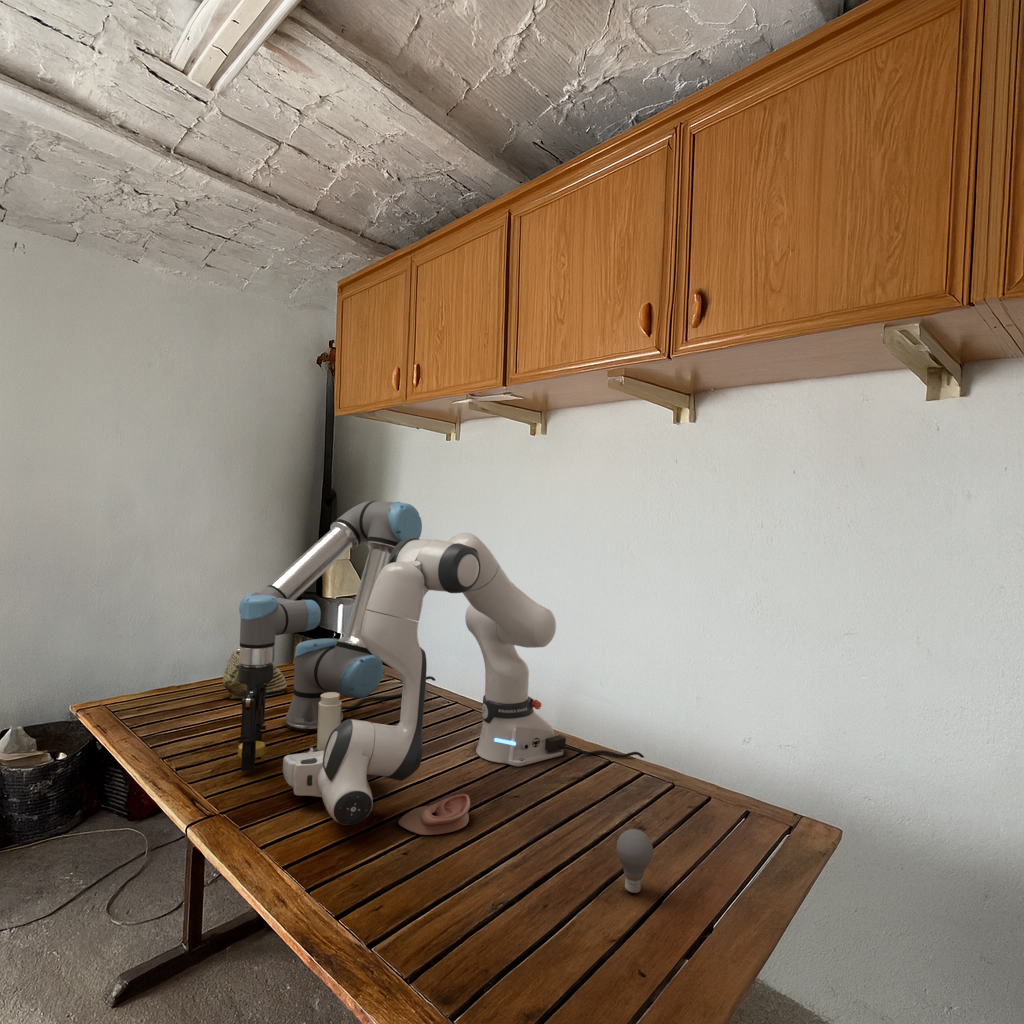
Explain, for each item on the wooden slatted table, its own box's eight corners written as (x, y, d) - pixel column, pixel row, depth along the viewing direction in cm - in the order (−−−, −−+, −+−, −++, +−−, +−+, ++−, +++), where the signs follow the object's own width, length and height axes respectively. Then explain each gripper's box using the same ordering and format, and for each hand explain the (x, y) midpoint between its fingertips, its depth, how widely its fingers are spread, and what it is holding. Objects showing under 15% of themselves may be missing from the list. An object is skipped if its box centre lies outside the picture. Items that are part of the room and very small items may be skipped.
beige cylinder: (337, 772, 146) (340, 690, 146) (339, 781, 141) (343, 697, 141) (314, 774, 144) (318, 692, 144) (316, 783, 140) (319, 698, 139)
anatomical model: (392, 810, 121) (414, 784, 132) (391, 830, 121) (413, 803, 132) (459, 820, 118) (475, 792, 130) (458, 841, 118) (474, 812, 130)
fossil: (218, 695, 195) (220, 647, 195) (278, 685, 208) (279, 640, 207) (228, 703, 189) (230, 653, 188) (289, 692, 201) (290, 645, 201)
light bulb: (610, 879, 108) (613, 822, 108) (644, 879, 109) (647, 822, 109) (619, 902, 102) (622, 840, 102) (655, 901, 103) (658, 840, 103)
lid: (232, 755, 144) (232, 746, 144) (252, 747, 149) (253, 738, 149) (250, 760, 141) (250, 751, 141) (270, 752, 147) (270, 743, 147)
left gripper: (249, 654, 154) (244, 749, 154) (227, 674, 135) (222, 782, 135) (281, 654, 155) (276, 748, 155) (264, 674, 137) (259, 781, 137)
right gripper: (388, 752, 135) (373, 729, 148) (287, 765, 127) (280, 740, 139) (387, 781, 135) (372, 756, 148) (286, 796, 127) (279, 769, 139)
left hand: (251, 764), depth 145 cm, fingers closed on lid, 6 cm apart
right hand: (327, 748), depth 143 cm, fingers closed on beige cylinder, 5 cm apart
